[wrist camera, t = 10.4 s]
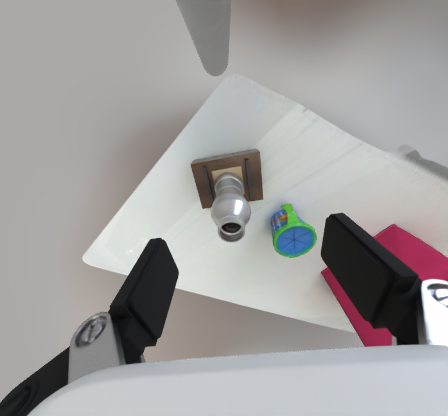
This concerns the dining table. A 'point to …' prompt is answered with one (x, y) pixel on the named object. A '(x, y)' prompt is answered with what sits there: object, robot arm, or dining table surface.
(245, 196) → the brown wooden base
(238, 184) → the silver metal bottle
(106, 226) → the dining table surface
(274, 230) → the snack cup
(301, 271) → the dining table surface
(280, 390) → the robot arm
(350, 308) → the storage bin
